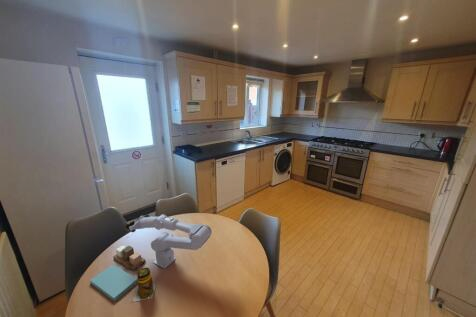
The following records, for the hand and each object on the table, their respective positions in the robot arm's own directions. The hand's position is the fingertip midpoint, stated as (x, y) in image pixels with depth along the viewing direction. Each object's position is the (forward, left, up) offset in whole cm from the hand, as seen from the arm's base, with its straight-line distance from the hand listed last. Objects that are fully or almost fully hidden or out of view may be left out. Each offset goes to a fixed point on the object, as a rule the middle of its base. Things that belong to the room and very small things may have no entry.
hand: (132, 223), depth 109 cm
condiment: (-28, +16, -19) cm, 38 cm away
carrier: (-3, +7, -19) cm, 21 cm away
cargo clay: (-10, +7, -17) cm, 21 cm away
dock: (-10, +19, -19) cm, 29 cm away
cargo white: (+3, +7, -17) cm, 18 cm away
